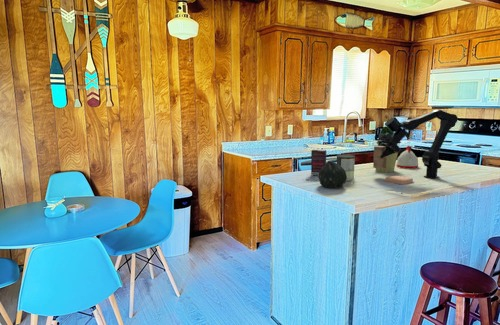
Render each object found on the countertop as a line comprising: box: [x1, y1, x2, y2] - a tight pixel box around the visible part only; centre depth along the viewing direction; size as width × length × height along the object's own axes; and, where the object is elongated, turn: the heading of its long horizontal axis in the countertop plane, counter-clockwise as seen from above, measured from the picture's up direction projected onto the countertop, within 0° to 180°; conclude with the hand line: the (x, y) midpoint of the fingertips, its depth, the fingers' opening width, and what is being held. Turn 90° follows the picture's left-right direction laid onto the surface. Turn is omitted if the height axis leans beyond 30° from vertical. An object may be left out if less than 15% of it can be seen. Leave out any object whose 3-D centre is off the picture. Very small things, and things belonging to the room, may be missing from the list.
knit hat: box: [396, 145, 419, 170], centre depth 242 cm, size 14×14×15 cm
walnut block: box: [372, 145, 386, 169], centre depth 201 cm, size 5×5×12 cm
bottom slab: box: [383, 179, 415, 186], centre depth 190 cm, size 12×12×2 cm
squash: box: [317, 160, 347, 189], centre depth 184 cm, size 14×15×15 cm
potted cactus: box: [375, 125, 399, 173], centre depth 227 cm, size 15×15×30 cm
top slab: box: [384, 175, 414, 185], centre depth 190 cm, size 10×10×2 cm
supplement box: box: [310, 149, 327, 177], centre depth 214 cm, size 9×5×16 cm, turn 65°
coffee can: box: [336, 154, 356, 182], centre depth 202 cm, size 10×10×14 cm
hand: (377, 156), depth 200 cm, fingers closed on walnut block, 7 cm apart
